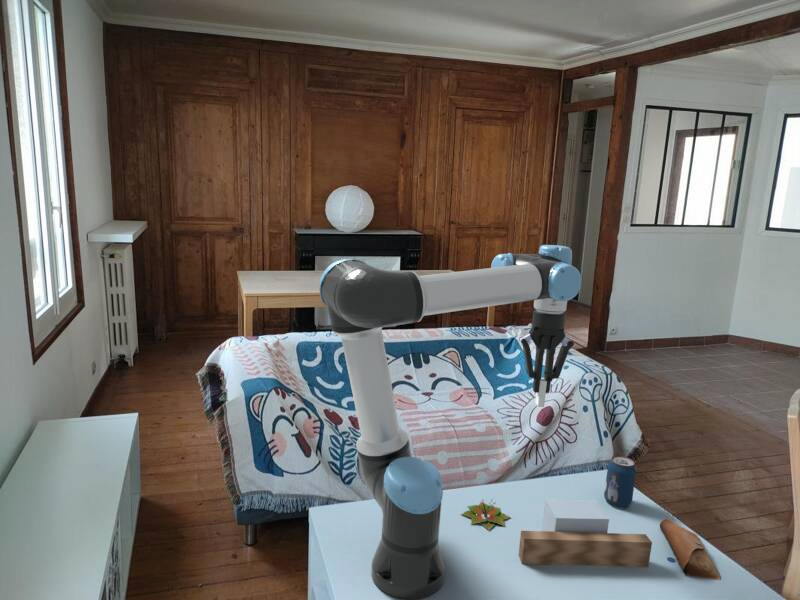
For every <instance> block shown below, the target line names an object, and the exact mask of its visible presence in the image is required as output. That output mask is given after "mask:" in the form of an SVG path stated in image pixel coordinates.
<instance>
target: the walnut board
mask: <svg viewBox="0 0 800 600" xmlns="http://www.w3.org/2000/svg"><path fill="white" fill-rule="evenodd" d="M652 546H653V542H652V540H651V538H649V536H647V534H644V533H611V532H607V533H585V532H552V531H542V530H521V531H520V536H519V546H518V557H519V560H520V564H522V565H523V564H525V565H554V566H555V565H557V566H558V565H559V566H560V565H561V566H592V567H594V566H595V567H597V566H598V567H624V568H625V567H631V568H633V567H634V568H649V564H650V559H651V551H652Z"/></svg>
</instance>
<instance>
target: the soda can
mask: <svg viewBox="0 0 800 600" xmlns="http://www.w3.org/2000/svg"><path fill="white" fill-rule="evenodd" d="M635 464H636V463H635V461H634V460H633V459H632V458H630V457H627V456H623V455H614V456H612V457H610V461H609V462H608V463H607V468H606V469H607V471H606V478H605V485H604V493H603V496H604V499H605V502H606V503H607V504H608V505H610V506H611V507H614V508H616V509H627V508H628V507H629V506H630V505H631V504H632V503H633V498H634V497H633V495H634V490H635V483H636V475H637V474H636V473H637V466H636V465H635Z"/></svg>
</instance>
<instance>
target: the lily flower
mask: <svg viewBox="0 0 800 600" xmlns="http://www.w3.org/2000/svg"><path fill="white" fill-rule="evenodd" d="M493 500H494V498H492V499H491V501H490V502H489V503H488V504H487V503H485V501H484V500H483V499H481V500H480V501H479V504H475V505H467V507H468V508H469V510H467V511H464V512H463V513H461V515H463V516H466V517H468V518H471V523H470V525H474V524H478V523H480V524H481V525H482V526H483V527H485V529H487V530H488V531H490V530H492V528H493V527H494V526H495V523H496V524H498V525H500V526H503V527H506V525H505V522H504V520H507V519H510V518H511V516H509V515H507V514H506V513H503V512H500V511H501V509H500V508H501V507H497V506H494V505H495V504H497V502H494V503H493V502H492V501H493ZM491 502H492V503H491ZM476 514H477V515H476ZM481 515H483V516H484V518H483V516H481ZM487 516H489V518H486V517H487ZM487 521H488V523H487Z"/></svg>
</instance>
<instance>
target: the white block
mask: <svg viewBox="0 0 800 600" xmlns="http://www.w3.org/2000/svg"><path fill="white" fill-rule="evenodd" d="M609 522H610V518H609V517H608V516H607V514H606V513H605V511H604V509H602V508H601V506H600V505H599V503H598V501H597V500H596V499H571V498H566V499H565V498H545V499H544V506H543V517H542V523H541V524H542V525H541V531H552V532H585V533H608V532H609Z"/></svg>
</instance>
